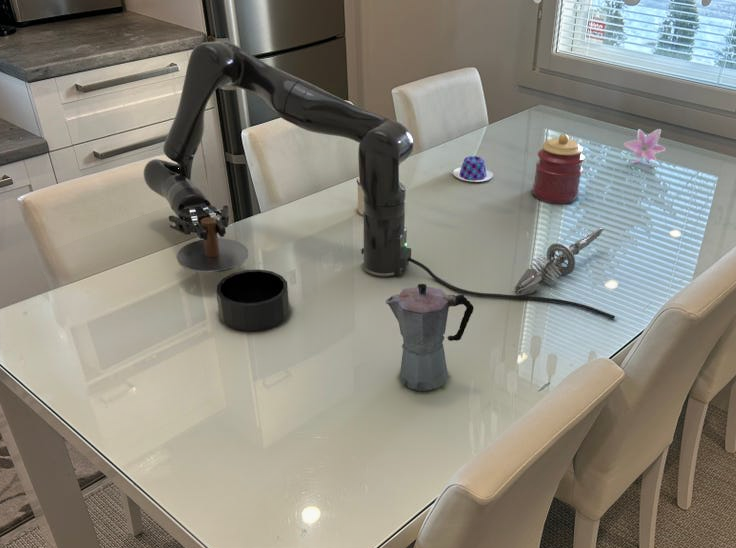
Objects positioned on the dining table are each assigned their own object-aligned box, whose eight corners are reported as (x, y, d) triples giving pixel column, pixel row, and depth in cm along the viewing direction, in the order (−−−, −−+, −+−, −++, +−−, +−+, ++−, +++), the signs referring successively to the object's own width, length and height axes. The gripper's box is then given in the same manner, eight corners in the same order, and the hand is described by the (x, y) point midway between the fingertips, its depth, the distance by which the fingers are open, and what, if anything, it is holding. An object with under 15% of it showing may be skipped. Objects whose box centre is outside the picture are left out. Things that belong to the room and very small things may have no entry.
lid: (259, 248, 164) (256, 211, 159) (230, 280, 152) (225, 241, 147) (197, 238, 167) (192, 201, 161) (164, 269, 155) (157, 230, 149)
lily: (615, 159, 238) (622, 139, 229) (637, 139, 241) (645, 118, 233) (645, 180, 234) (653, 160, 226) (666, 159, 238) (675, 139, 229)
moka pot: (383, 362, 140) (384, 270, 128) (463, 361, 141) (471, 271, 130) (385, 393, 132) (386, 299, 120) (469, 392, 134) (478, 299, 122)
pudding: (493, 185, 213) (495, 167, 210) (452, 182, 213) (454, 165, 210) (491, 169, 223) (493, 152, 219) (452, 167, 222) (453, 150, 219)
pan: (299, 301, 156) (297, 275, 152) (273, 337, 145) (270, 309, 141) (238, 291, 158) (235, 265, 154) (208, 325, 147) (203, 298, 143)
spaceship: (622, 228, 175) (597, 207, 177) (535, 292, 156) (508, 268, 158) (607, 250, 181) (583, 229, 183) (521, 314, 162) (496, 290, 164)
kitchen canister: (584, 194, 211) (595, 133, 201) (566, 208, 202) (576, 146, 192) (543, 182, 216) (552, 123, 206) (524, 196, 207) (532, 135, 197)
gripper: (154, 192, 159) (177, 224, 148) (217, 181, 166) (244, 211, 154) (159, 224, 164) (183, 257, 152) (220, 212, 170) (247, 243, 159)
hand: (213, 234), depth 153 cm, fingers closed on lid, 3 cm apart
